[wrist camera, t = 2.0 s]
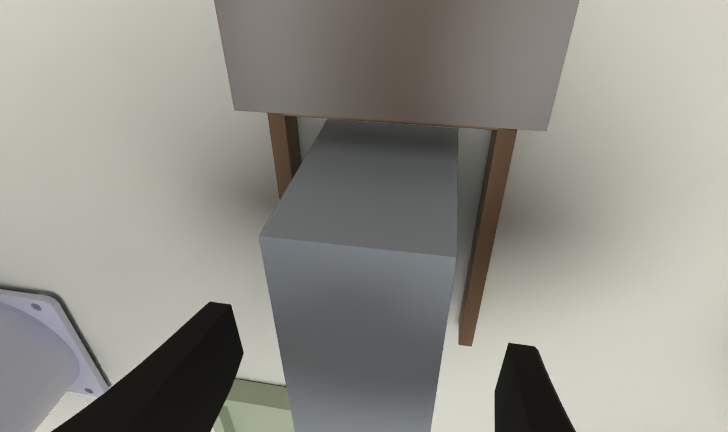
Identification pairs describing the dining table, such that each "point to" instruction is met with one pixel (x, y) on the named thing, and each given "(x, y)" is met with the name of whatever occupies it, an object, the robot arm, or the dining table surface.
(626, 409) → the dining table surface
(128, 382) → the robot arm
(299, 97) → the walnut bay
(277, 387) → the sage tray
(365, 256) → the grey oblong block
